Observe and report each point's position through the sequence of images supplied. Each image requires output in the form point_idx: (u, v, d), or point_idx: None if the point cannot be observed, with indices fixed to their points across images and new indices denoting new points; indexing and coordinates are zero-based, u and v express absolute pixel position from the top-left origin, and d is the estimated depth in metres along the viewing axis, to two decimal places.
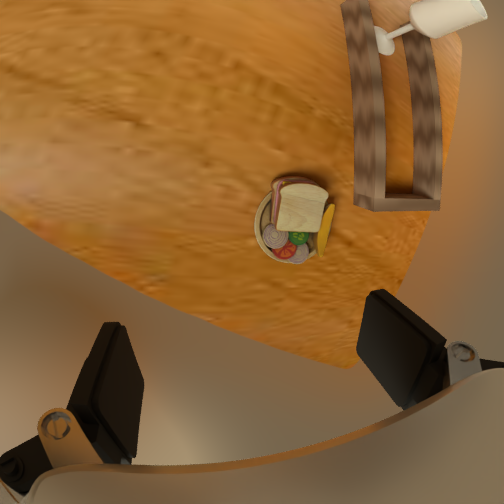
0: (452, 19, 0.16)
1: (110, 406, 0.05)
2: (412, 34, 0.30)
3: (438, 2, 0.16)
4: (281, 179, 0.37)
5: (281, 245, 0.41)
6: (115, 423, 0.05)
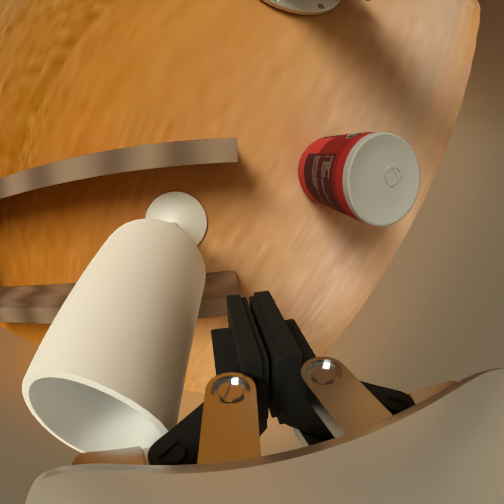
0: None
1: None
2: (205, 285, 0.27)
3: None
4: None
5: None
6: None
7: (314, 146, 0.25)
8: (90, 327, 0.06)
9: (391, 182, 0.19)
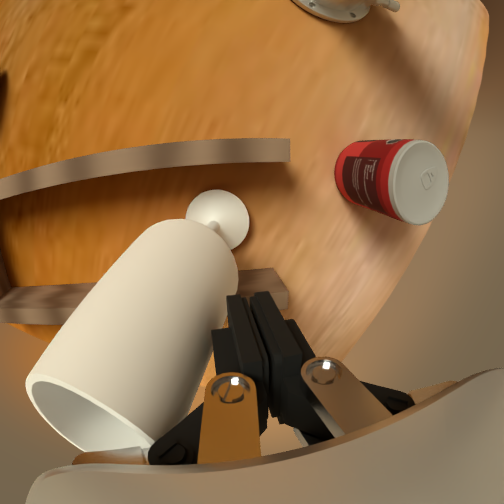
0: None
1: None
2: (248, 282, 0.28)
3: None
4: None
5: None
6: None
7: (352, 149, 0.26)
8: (95, 336, 0.06)
9: (426, 185, 0.20)
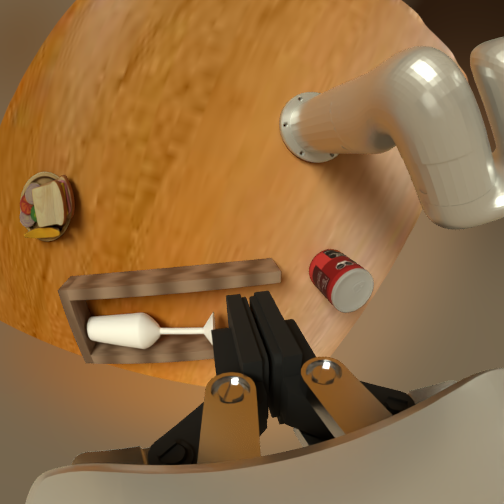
0: None
1: None
2: None
3: (111, 326, 0.42)
4: (66, 181, 0.35)
5: (28, 200, 0.35)
6: None
7: (319, 261, 0.48)
8: (94, 325, 0.42)
9: (356, 292, 0.42)
